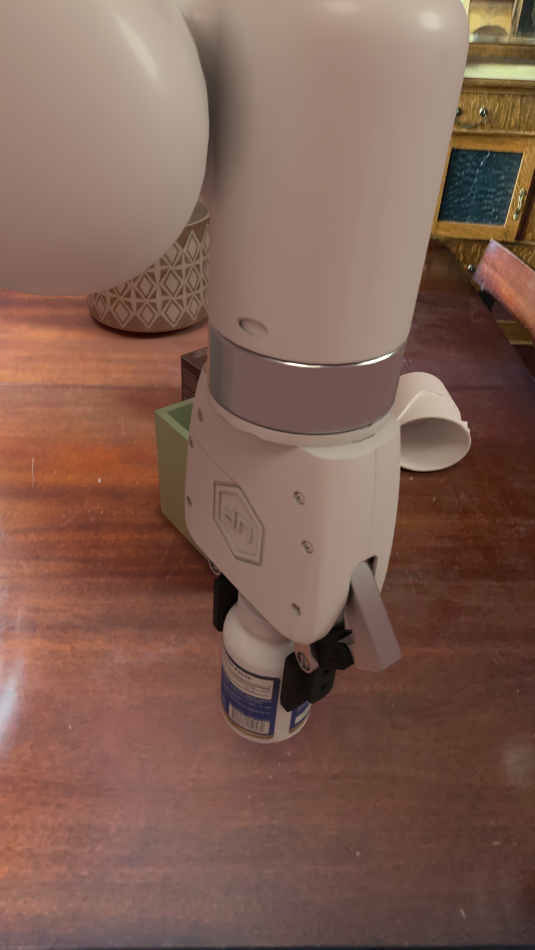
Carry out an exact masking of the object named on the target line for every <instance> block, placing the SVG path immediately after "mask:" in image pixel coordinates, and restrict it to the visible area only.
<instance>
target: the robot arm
mask: <svg viewBox="0 0 535 950" xmlns="http://www.w3.org/2000/svg"><path fill="white" fill-rule="evenodd" d="M469 25H470V24H469V18H468V15H467V11H466V9H465V6H464V3H463V1H462V0H0V289H3V290H6V291H10V292H15V293H22V294H28V295H34V296H39V297H44V298H45V297H46V298H48V297H49V298H52V297H55V298H58V297H59V298H61V297H83V296H87V295H88V294H92V293H97V292H102V291H106V290H109V289H111V288H113V287H116V286H118V285H120V284H122V283H124V282H126V281H129V280H131V279H133V278H135V277H137V276H139V275H140V274H141V273H143V272H144V271H145V270H147V269H148V268H149V267H151V266H152V265H153V264H154V263H156V262H157V261H158V260H160V258H161V257H162V256H163V255H164V254H165V253H166V252H167V250H168V249H169V248H170V247H171V246H172V245H173V243H174V242H175V241H176V240H177V239H178V237H179V236H180V234H181V233H182V231H183V229H184V228H185V226H186V224H187V223H188V221H189V219H190V217H191V215H192V213H193V210H194V208H195V206H196V203H197V201H198V198H200V199H201V200H202V201H204V203H205V204H206V206H207V208H208V210H209V217H210V233H209V293H208V316H207V346H206V347H207V362H206V363H205V364H204V365H203V367H202V370H201V374H200V377H199V381H198V384H197V388H196V393H195V398H194V402H193V407H192V414H191V421H190V428H189V438H188V449H187V462H186V481H185V520H186V526H187V529H188V531H189V533H190V535H191V536H192V538H193V539H194V541H195V542H196V544H197V545H198V546H199V547H200V548H201V550H202V551H203V552H204V553H205V554H206V555H207V556H208V561H207V562H208V567H209V568H210V570H211V571H212V573H213V574H214V575H215V576H218V577H216V578H214V579H213V597H212V600H213V601H212V626H213V627H214V628H215V630H216V631H217V632H219V633H221V632H222V633H223V627H224V621H225V618H226V616H227V614H228V612H229V610H230V609H231V607H232V606H233V605H234V604H235V603H236V602H237V601H238V593H239V591H240V592H241V593H242V595H243V596H244V597H245V598H246V599H247V600H248V601H249V602H250V603H251V604H252V605H253V606H254V607H255V608H256V609H257V610H258V611H259V612H260V613H261V615H262V616H263V617H264V618H265V619H266V620H267V621H268V622H269V623H270V624H271V625H272V626H273V627H274V628H275V629H276V630H278V631H279V632H280V633H281V634H282V635H284V636H285V637H287V638H288V639H290V640H292V641H293V642H294V649H295V651H294V652H292V653H291V654H289V655H288V656H287V657H286V659H285V664H284V671H283V679H282V686H281V693H280V700H281V701H280V705H281V706H282V707H283V708H284V709H285V710H286V712H291V711H292V710H294V709H295V708H297V707H298V706H300V705H302V704H303V703H305V702H306V701H308V702H309V703H310V704H311V705H313V704H314V705H315V704H316V703H317V702H320V701H321V700H322V699H324V698H325V697H326V696H327V695H328V694H329V693H330V692H332V689H333V687H334V683H335V679H336V673H337V671H346V670H347V669H349V668H354V669H355V671H360V672H367V673H370V674H371V673H372V674H375V675H376V674H377V675H378V674H381V673H383V672H384V671H385V670H387V669H389V668H390V667H392V666H393V665H395V664H396V663H398V662H400V660H402V650H401V648H400V645H399V641H398V639H397V636H396V634H395V631H394V628H393V626H392V625H393V624H392V623H391V620H390V618H389V614H388V612H387V608H386V607H385V603H384V601H383V598H382V595H381V593H382V590H383V586H384V584H385V580H386V576H387V572H388V567H389V562H390V558H391V552H392V547H393V542H394V537H395V528H396V523H397V522H396V521H397V515H398V506H399V494H400V483H401V482H400V480H401V467H400V456H401V442H400V423H399V421H398V420H397V419H396V418H395V417H394V416H393V415H392V411H393V407H394V402H395V397H396V393H397V388H398V383H399V378H400V376H401V373H402V369H403V364H404V358H405V355H406V350H407V345H408V341H409V334H410V332H411V327H412V322H413V318H414V313H415V308H416V303H417V299H418V294H419V289H420V285H421V282H422V281H421V280H422V275H423V271H424V266H425V261H426V257H427V252H428V247H429V243H430V237H431V233H432V229H433V225H434V219H435V215H436V210H437V205H438V200H439V196H440V191H441V187H442V181H443V176H444V173H445V169H446V168H445V167H446V163H447V159H448V153H449V150H450V143H451V139H452V134H453V131H454V130H453V129H454V125H455V120H456V116H457V111H458V107H459V102H460V96H461V93H462V88H463V82H464V77H465V73H466V66H467V61H468V55H469V48H470V26H469Z"/></svg>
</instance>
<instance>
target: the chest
mask: <svg viewBox="0 0 535 950" xmlns="http://www.w3.org/2000/svg"><path fill="white" fill-rule="evenodd" d="M194 398H195V397H193V398H190V399H187V400H184V401H182V400H181V401H179V402H176V403H173V404H170V405H167V406H164V407H161V408H157V409H154V410H153V414H154V424H155V425H154V426H155V441H156V443H155V444H156V457H157V470H158V471H157V472H158V484H159V500H160V513H162V514H163V515H164V516H165V518H167V520H168V521H169V522H171V524H172V525H173V526H174V527H175V528H176V529H177V530H178V531H179V532H180V534H182V536H183V537H184V538H185V539H186V540H187V541H188V542H189V543H190V544H191V545H192V547H194V548H195V549H196V550H197V552H198V553H200V555H201V556H202V557H203V558H204V559H205V560H206V561H207V562H208V556H207V555H206V554H205V553H204V552H203V551H202V550H201V548H200V547H199V546H198V545H197V544H196V542H195V541H194V539H193V538H192V536H191V535H190V533H189V531H188V529H187V526H186V520H185V481H186V462H187V449H188V438H189V428H190V421H191V414H192V407H193V402H194Z"/></svg>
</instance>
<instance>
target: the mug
mask: <svg viewBox="0 0 535 950" xmlns="http://www.w3.org/2000/svg"><path fill="white" fill-rule="evenodd" d="M392 415H393V416H394V417H395V418H396V419H397V420H398V421H399V423H400V442H401V456H400V468H402V469H406V470H409V471H413V472H435V471H439V470H440V471H441V470H444V469H447V468H449V467H452V466H453V465H455V464H457V463H458V462H460V461H461V460H462V459H464V457H466V455H467V454H468V453H469V451H470V448H471V445H472V437H471V434H470V433H471V429H470V428H469V427H468V420H467V421H466V420H462V416H461V412H460V410H459V408H458V406H457V405H456V403H455V401H454V399H453V398H452V396H451V395H450V393H449V391H448V390H447V387H446V386H445V384H444V383H443V382H442V381H441V379H440V378H438V377H437V376H435V375H433V374H431V373H429V372H423V371H413V372H408V373H405V374H402V375H400V378H399V383H398V388H397V393H396V397H395V402H394V407H393V411H392Z"/></svg>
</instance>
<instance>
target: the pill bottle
mask: <svg viewBox="0 0 535 950" xmlns="http://www.w3.org/2000/svg"><path fill="white" fill-rule="evenodd" d="M221 643H222V644H221V649H222V650H221V668H220V669H221V670H220V671H221V672H220V678H221V679H220V710H221V712H222V715H223V718H224V720H225V722H226V723H227V725H228V727H230V728H231V730H232V731H234V732H235V734H237V735H239V736H240V737H242V738H243V739H246V740H248V741H250V742H253V743H256V744H264V745H265V744H275V743H280V742H284V741H286V740H288V739H290V738H292V737H293V736H295V735H297V734H298V733H299V732H300V731H301V730H302V728H303V727H304V726H305V725H306V723H307V721H308V719H309V715H310V712H311V708H312V704H310V703H309V702H308V701H306V702H305V703H303V704H302V705H300V706H298V707H297V708H295V709H294V710H292V711H291V712H286V710H285V709H284V708H283V707H282V706H281V705H280V701H281V700H280V693H281V686H282V679H283V671H284V664H285V659H286V657H287V656H288V655H289V654H291V653H292V652H294V651H295V649H294V642H293V641H292V640H290V639H288V638H287V637H285V636H284V635H282V634H281V633H280V632H279V631H278V630H276V629H275V628H274V627H273V626H272V625H271V624H270V623H269V622H268V621H267V620H266V619H265V618H264V617H263V616H262V615H261V613H260V612H259V611H258V610H257V609H256V608H255V607H254V606H253V605H252V604H251V603H250V602H249V601H248V600H247V599H246V598H245V597H244V596H243V595H242V593H241V592H240V591H239V593H238V601H237V602H236V603H235V604H234V605H233V606H232V607H231V609H230V610H229V612H228V614H227V616H226V618H225V621H224V627H223V632H222V642H221Z"/></svg>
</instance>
